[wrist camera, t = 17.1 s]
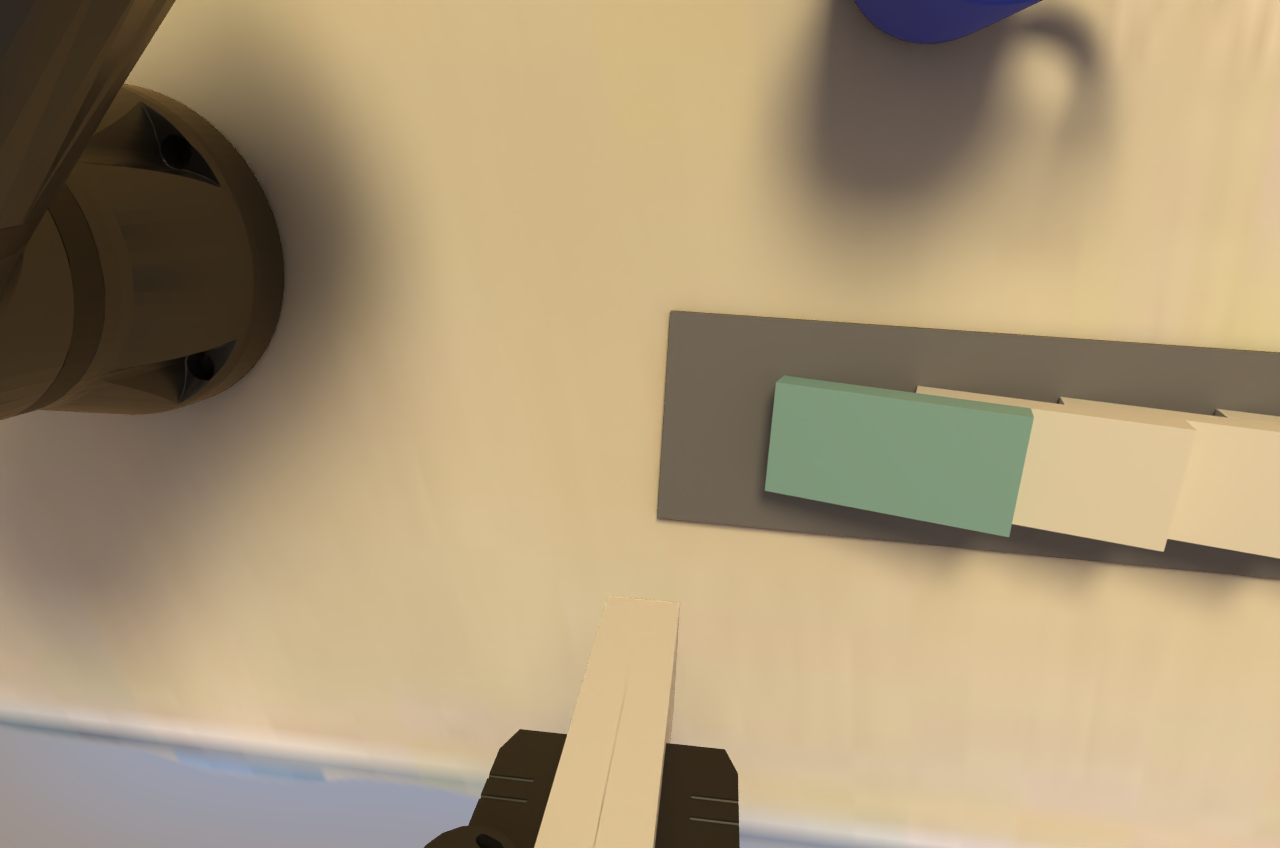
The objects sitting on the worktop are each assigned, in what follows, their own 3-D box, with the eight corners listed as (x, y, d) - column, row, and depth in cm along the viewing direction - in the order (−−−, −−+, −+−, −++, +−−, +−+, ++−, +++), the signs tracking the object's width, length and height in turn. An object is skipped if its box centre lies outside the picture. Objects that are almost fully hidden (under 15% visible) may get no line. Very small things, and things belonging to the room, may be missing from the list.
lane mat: (658, 514, 37) (657, 517, 36) (671, 310, 34) (670, 311, 33) (1421, 589, 33) (1429, 593, 33) (1506, 368, 30) (1516, 370, 30)
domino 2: (1040, 516, 32) (1328, 567, 29) (1064, 404, 31) (1371, 443, 27) (1036, 503, 34) (1310, 550, 30) (1060, 396, 32) (1350, 433, 29)
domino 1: (898, 503, 33) (1163, 551, 29) (915, 393, 32) (1196, 430, 28) (900, 491, 34) (1154, 536, 31) (917, 385, 33) (1185, 420, 29)
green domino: (764, 490, 34) (1009, 537, 30) (776, 382, 32) (1034, 417, 29) (773, 479, 35) (1007, 522, 31) (784, 375, 34) (1030, 408, 30)
